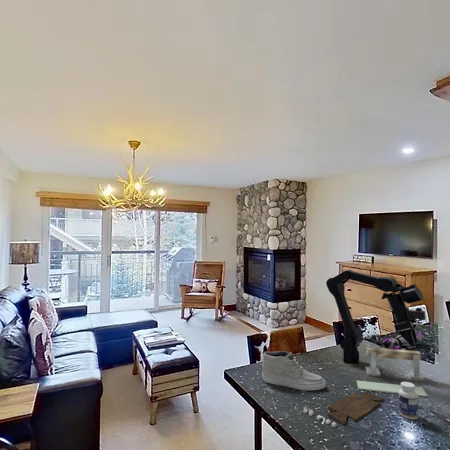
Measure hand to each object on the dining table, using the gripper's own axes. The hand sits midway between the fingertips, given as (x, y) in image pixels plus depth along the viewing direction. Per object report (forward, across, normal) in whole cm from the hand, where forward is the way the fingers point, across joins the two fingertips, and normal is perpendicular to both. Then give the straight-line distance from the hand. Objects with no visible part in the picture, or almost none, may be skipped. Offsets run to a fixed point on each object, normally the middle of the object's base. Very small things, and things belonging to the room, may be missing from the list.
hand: (415, 344), depth 133 cm
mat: (+11, -15, +12) cm, 22 cm away
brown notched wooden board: (+11, -36, +20) cm, 43 cm away
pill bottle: (+16, -32, +5) cm, 36 cm away
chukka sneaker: (+1, -31, +43) cm, 53 cm away
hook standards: (+10, +1, +13) cm, 16 cm away
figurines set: (+9, -50, +28) cm, 58 cm away
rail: (+3, 0, +10) cm, 11 cm away
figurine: (+6, +43, +14) cm, 46 cm away
